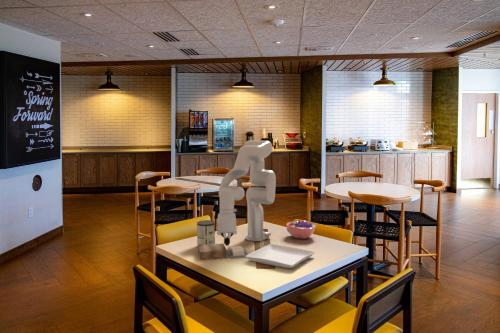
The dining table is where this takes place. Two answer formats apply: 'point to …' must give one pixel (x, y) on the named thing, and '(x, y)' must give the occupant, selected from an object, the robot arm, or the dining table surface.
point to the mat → (236, 256)
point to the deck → (212, 251)
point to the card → (237, 251)
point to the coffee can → (205, 232)
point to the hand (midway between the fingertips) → (227, 245)
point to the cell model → (300, 229)
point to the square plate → (280, 255)
